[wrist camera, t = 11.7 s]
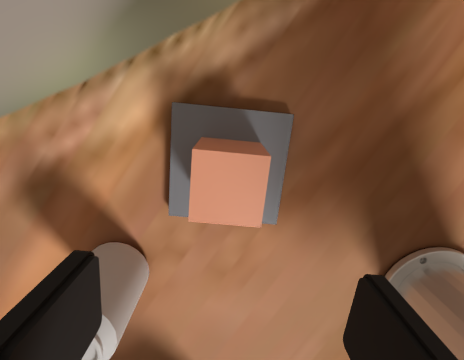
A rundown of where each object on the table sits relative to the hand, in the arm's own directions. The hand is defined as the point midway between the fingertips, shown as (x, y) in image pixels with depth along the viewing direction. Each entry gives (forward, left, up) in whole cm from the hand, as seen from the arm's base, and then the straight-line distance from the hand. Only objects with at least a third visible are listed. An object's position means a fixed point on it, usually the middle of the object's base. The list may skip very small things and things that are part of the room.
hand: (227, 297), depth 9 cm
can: (+12, +14, -20) cm, 28 cm away
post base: (0, 0, -20) cm, 20 cm away
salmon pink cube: (0, 0, -19) cm, 19 cm away
